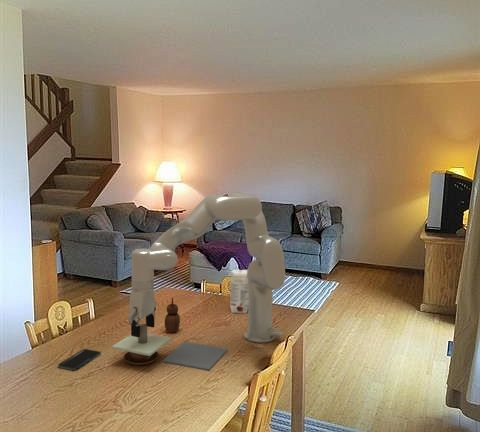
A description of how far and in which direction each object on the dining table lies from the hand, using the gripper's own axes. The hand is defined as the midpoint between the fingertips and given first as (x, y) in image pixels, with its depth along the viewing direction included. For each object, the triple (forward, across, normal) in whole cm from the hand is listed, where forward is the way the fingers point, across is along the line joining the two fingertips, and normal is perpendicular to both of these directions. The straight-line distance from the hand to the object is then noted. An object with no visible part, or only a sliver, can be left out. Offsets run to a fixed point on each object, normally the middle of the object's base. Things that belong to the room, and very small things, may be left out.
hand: (143, 331), depth 172 cm
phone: (+11, +9, -20) cm, 25 cm away
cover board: (+5, 0, 0) cm, 5 cm away
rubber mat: (+10, -10, +16) cm, 22 cm away
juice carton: (+11, -62, +14) cm, 64 cm away
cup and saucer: (+11, 0, -1) cm, 11 cm away
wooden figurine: (+11, -28, -3) cm, 30 cm away
